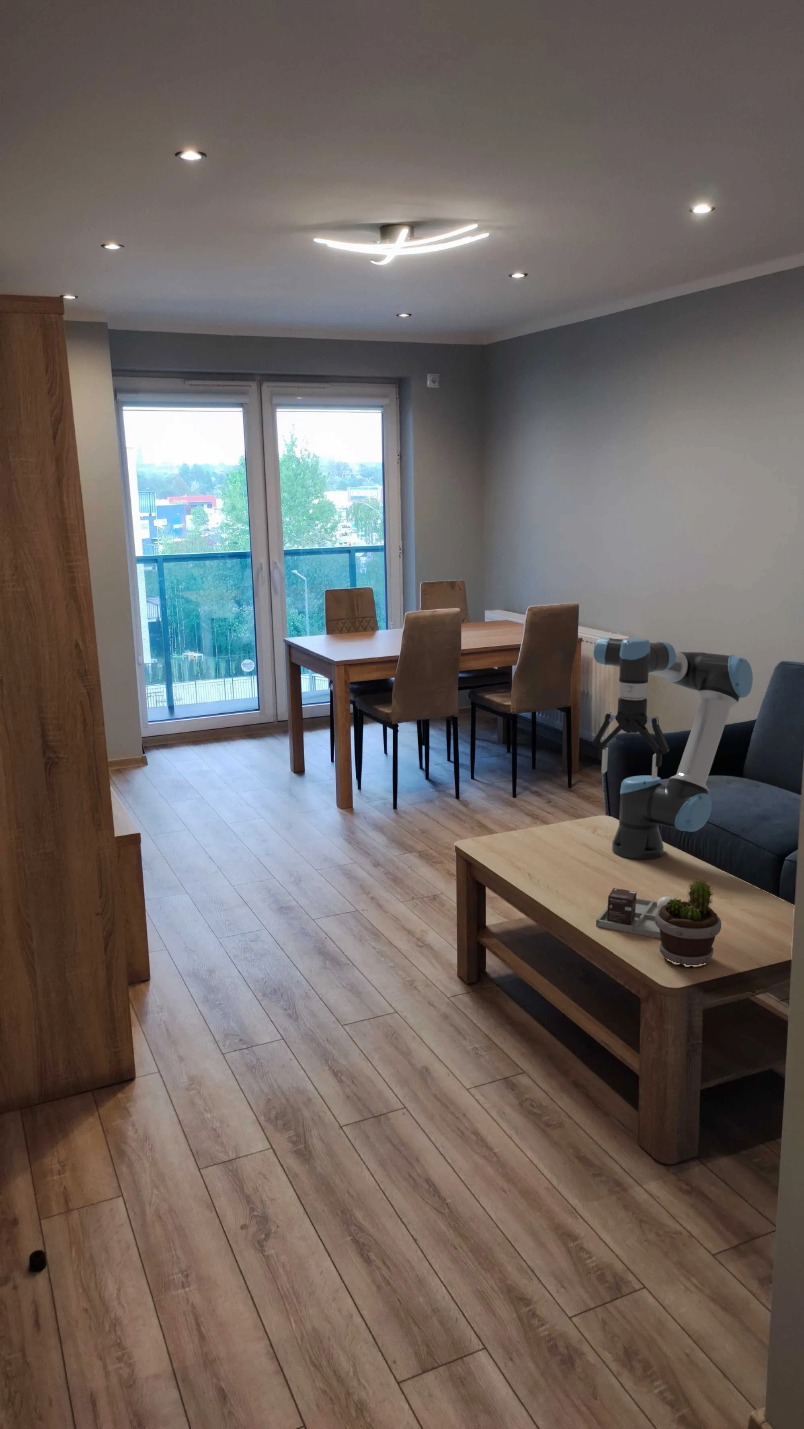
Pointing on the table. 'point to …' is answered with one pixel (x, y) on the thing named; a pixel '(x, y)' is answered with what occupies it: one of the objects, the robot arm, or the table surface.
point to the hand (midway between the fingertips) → (629, 775)
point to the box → (621, 906)
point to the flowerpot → (689, 926)
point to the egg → (663, 901)
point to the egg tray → (636, 920)
